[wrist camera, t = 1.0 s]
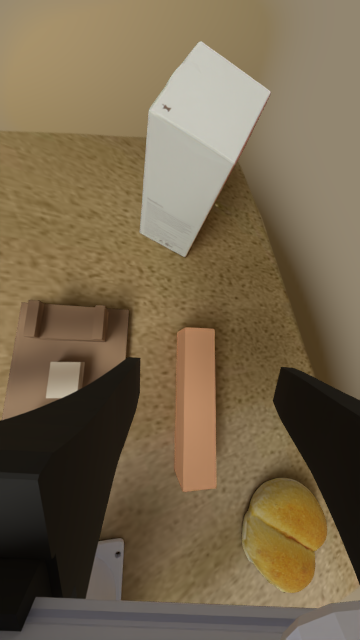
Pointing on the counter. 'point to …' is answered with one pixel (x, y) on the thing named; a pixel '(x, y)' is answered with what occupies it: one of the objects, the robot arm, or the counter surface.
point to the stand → (61, 352)
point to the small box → (195, 144)
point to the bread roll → (284, 533)
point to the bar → (195, 410)
